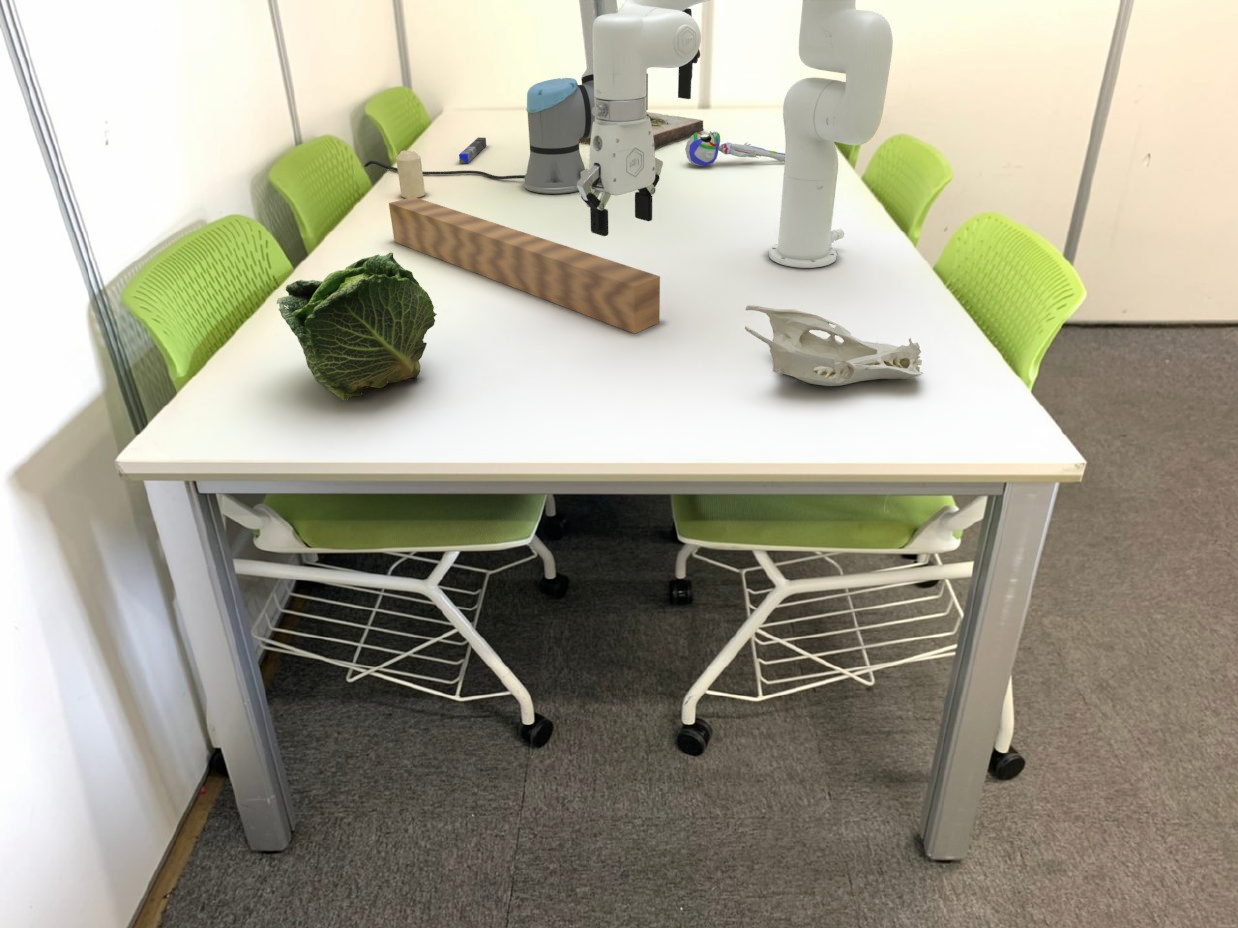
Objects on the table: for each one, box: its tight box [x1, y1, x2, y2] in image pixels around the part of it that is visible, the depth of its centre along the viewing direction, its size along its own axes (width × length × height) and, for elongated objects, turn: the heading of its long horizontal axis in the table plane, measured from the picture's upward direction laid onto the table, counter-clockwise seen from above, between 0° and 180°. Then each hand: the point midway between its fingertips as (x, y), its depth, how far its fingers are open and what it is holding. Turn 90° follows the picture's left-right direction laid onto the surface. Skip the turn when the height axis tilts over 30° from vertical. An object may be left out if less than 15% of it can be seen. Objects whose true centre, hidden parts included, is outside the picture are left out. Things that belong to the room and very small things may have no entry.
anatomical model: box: [744, 304, 924, 387], centre depth 126 cm, size 15×9×25 cm
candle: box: [395, 149, 426, 199], centre depth 207 cm, size 6×6×10 cm
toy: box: [684, 130, 785, 167], centre depth 229 cm, size 10×8×30 cm
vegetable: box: [276, 251, 438, 401], centre depth 124 cm, size 20×19×20 cm
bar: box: [388, 197, 661, 335], centre depth 161 cm, size 67×6×8 cm, turn 46°
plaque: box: [579, 111, 705, 150], centre depth 257 cm, size 30×7×30 cm
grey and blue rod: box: [458, 136, 487, 164], centre depth 242 cm, size 2×2×20 cm
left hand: (663, 104), depth 177 cm, fingers open, 13 cm apart
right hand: (622, 226), depth 138 cm, fingers open, 9 cm apart
